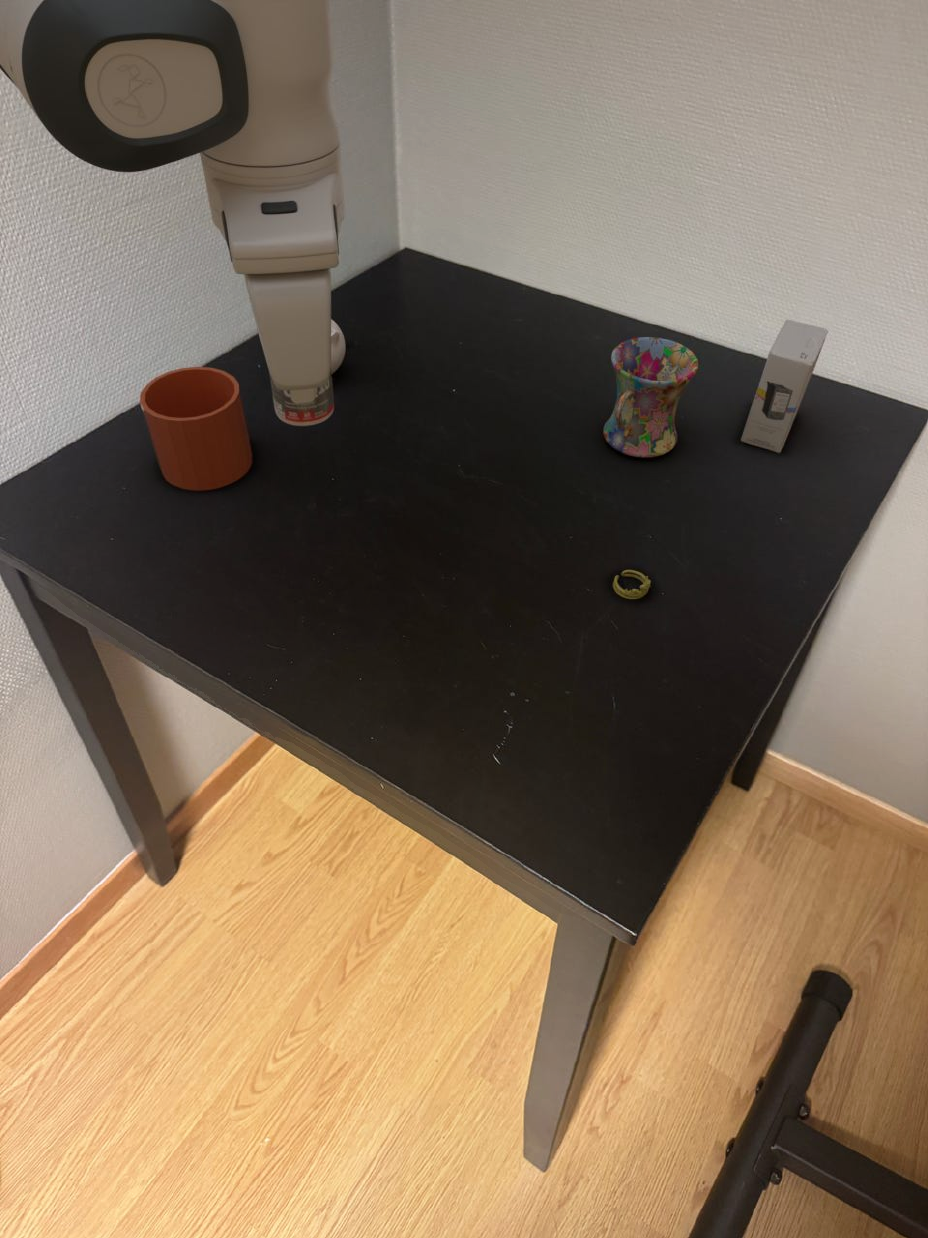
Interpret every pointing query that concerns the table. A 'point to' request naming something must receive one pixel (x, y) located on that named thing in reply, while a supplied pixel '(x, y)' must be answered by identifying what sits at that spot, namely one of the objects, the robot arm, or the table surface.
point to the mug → (648, 395)
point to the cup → (197, 427)
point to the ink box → (783, 384)
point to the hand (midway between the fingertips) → (300, 376)
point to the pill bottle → (304, 405)
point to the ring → (635, 592)
